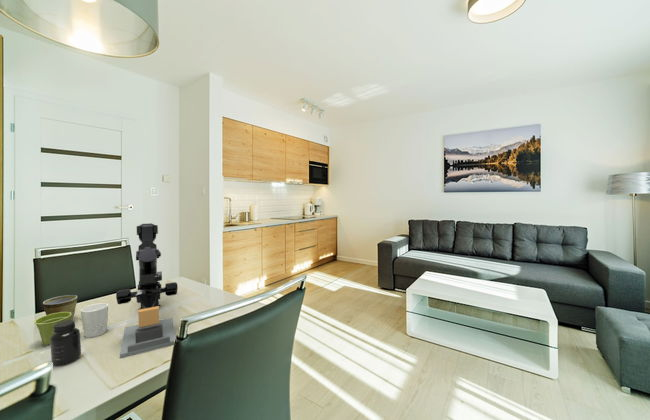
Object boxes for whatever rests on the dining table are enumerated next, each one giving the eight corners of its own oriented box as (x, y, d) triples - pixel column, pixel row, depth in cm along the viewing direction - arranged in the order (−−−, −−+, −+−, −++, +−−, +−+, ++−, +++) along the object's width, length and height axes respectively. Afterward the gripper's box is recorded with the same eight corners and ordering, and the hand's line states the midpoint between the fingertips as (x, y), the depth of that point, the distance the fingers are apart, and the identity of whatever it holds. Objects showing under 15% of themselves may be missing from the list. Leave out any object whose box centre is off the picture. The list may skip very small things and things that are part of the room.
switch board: (125, 330, 105) (124, 317, 105) (172, 320, 113) (172, 308, 113) (120, 358, 87) (119, 342, 87) (176, 343, 96) (176, 329, 96)
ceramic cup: (83, 320, 112) (82, 297, 112) (51, 331, 103) (49, 306, 103) (67, 314, 118) (66, 292, 117) (35, 324, 109) (34, 300, 108)
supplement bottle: (64, 354, 89) (62, 318, 88) (86, 353, 90) (85, 318, 89) (44, 367, 82) (42, 329, 82) (68, 366, 83) (67, 328, 82)
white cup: (113, 329, 105) (113, 304, 105) (90, 340, 98) (89, 313, 97) (100, 326, 108) (99, 301, 107) (76, 336, 100) (75, 309, 100)
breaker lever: (137, 328, 95) (136, 310, 93) (160, 323, 99) (160, 305, 97) (137, 331, 94) (136, 312, 92) (160, 326, 98) (160, 307, 96)
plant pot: (39, 351, 90) (38, 326, 90) (32, 343, 95) (30, 319, 95) (76, 339, 98) (75, 315, 98) (67, 331, 103) (66, 309, 103)
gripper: (115, 268, 94) (113, 311, 86) (176, 261, 104) (179, 299, 96) (118, 283, 101) (116, 324, 93) (175, 276, 111) (178, 312, 103)
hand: (148, 314), depth 96 cm, fingers closed, pressing on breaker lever
